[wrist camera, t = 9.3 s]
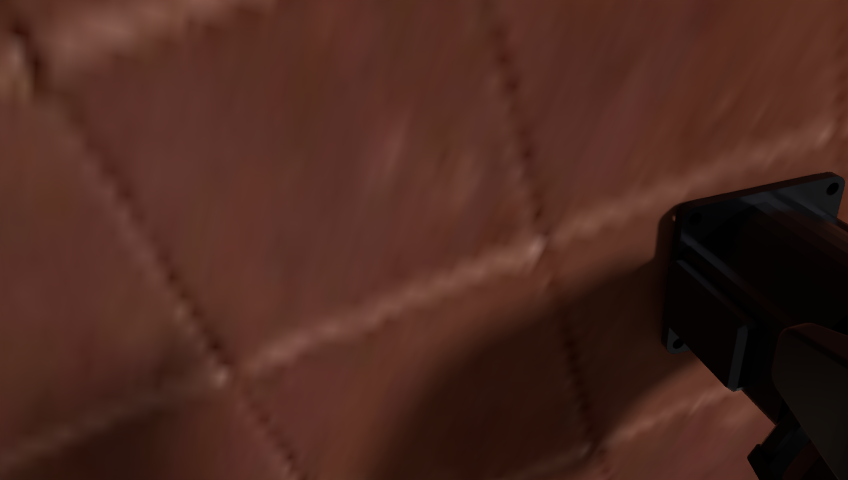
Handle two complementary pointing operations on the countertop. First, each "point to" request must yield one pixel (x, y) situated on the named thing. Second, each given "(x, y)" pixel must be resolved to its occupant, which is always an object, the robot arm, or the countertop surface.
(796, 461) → the robot arm
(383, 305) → the countertop surface
